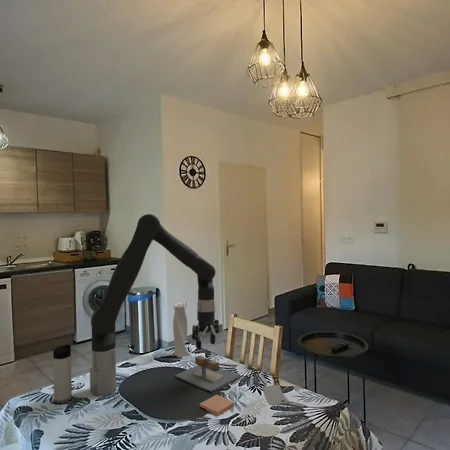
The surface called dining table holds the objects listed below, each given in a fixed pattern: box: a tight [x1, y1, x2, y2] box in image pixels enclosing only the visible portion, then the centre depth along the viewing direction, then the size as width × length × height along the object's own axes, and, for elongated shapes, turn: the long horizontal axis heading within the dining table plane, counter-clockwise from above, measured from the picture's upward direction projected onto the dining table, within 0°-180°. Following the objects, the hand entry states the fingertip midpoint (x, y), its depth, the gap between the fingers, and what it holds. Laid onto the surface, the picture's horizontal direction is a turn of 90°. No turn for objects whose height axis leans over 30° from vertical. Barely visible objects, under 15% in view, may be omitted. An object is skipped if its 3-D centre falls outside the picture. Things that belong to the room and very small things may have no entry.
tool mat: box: [174, 365, 241, 391], centre depth 158 cm, size 18×22×1 cm
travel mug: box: [52, 344, 73, 404], centre depth 140 cm, size 6×7×20 cm
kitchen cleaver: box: [262, 374, 290, 406], centre depth 146 cm, size 24×1×10 cm
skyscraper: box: [172, 300, 191, 358], centre depth 185 cm, size 8×8×28 cm
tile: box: [199, 394, 235, 417], centre depth 134 cm, size 9×2×9 cm
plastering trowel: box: [193, 355, 225, 383], centre depth 157 cm, size 13×7×7 cm, turn 49°
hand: (205, 346), depth 158 cm, fingers open, 8 cm apart
